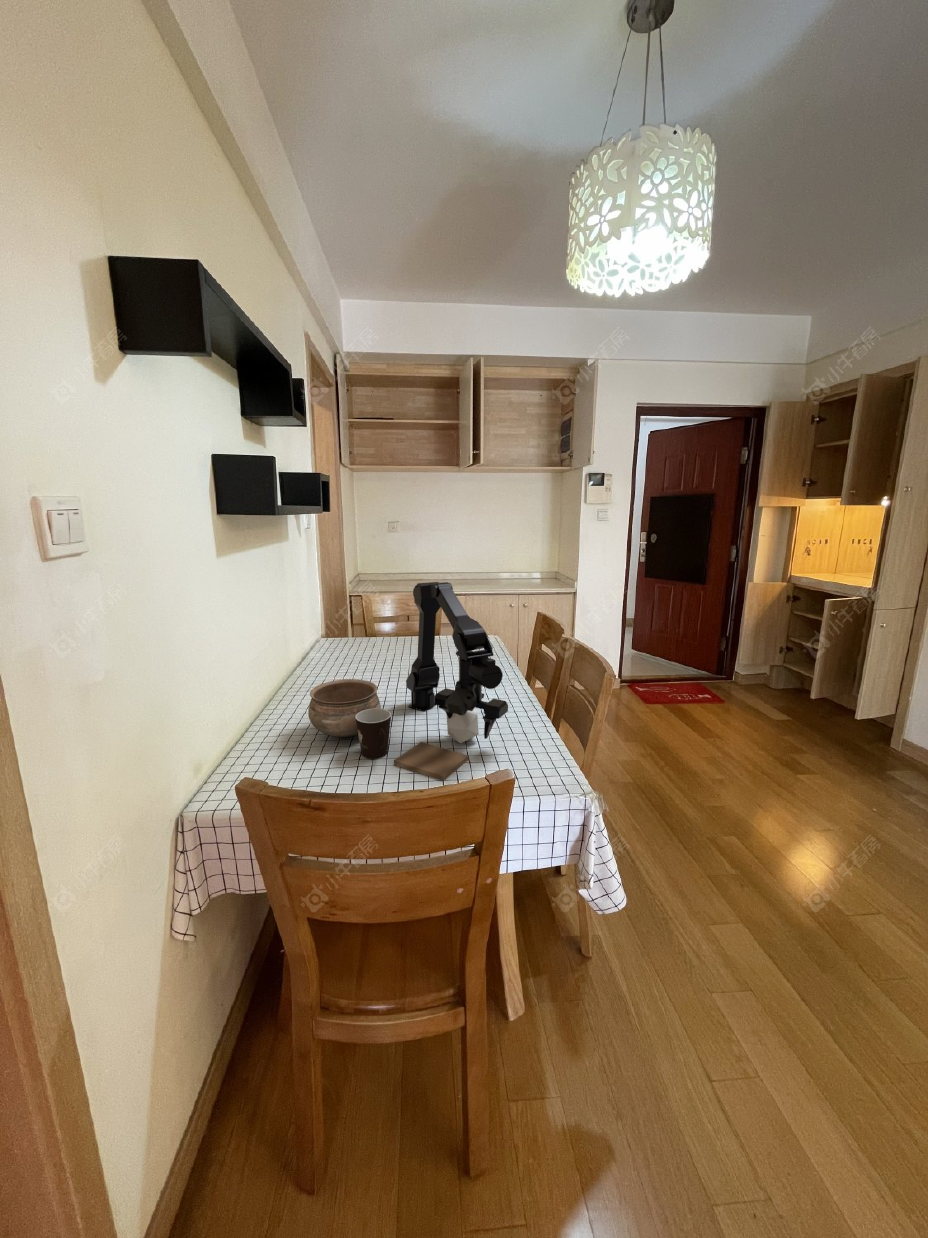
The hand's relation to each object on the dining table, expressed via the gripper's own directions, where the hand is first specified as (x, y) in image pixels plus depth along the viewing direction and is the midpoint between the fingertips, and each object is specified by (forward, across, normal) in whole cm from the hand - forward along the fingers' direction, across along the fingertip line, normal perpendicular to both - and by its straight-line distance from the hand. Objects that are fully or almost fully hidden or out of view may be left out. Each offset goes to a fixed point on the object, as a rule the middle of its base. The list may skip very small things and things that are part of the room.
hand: (470, 734), depth 124 cm
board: (+3, -4, -12) cm, 13 cm away
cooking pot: (+3, -33, -11) cm, 34 cm away
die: (+3, -3, +3) cm, 6 cm away
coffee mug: (+3, -18, -17) cm, 25 cm away
